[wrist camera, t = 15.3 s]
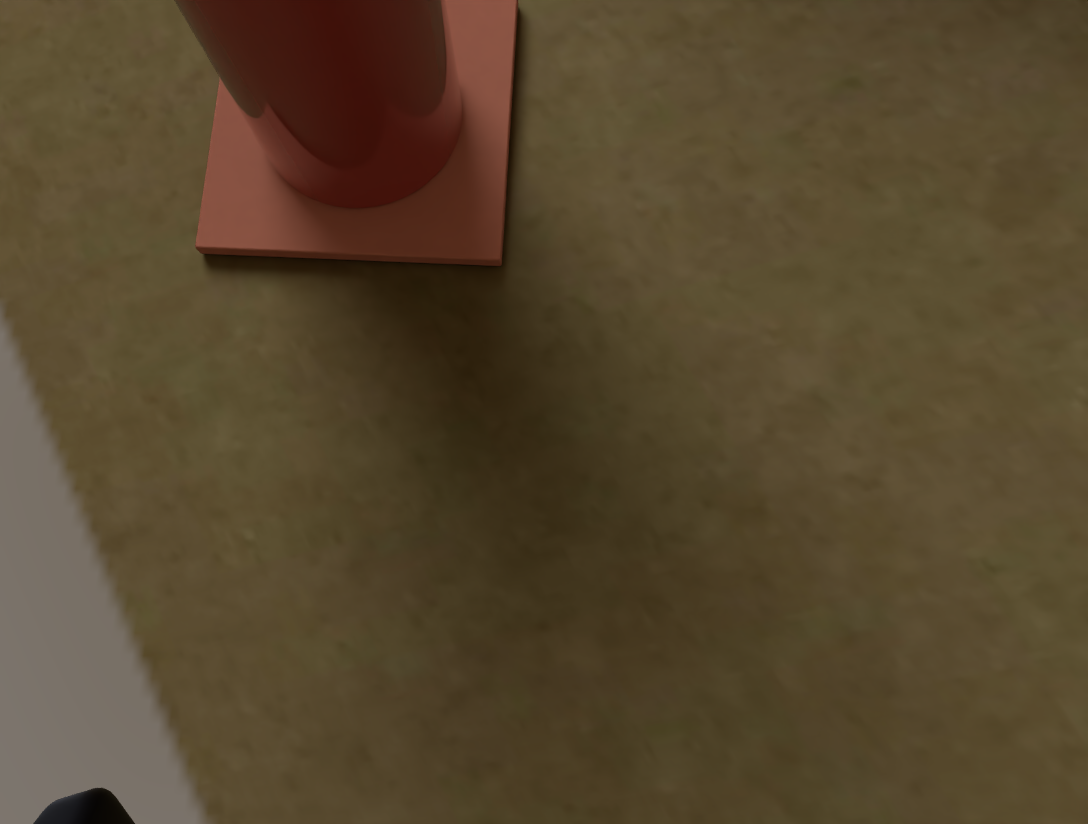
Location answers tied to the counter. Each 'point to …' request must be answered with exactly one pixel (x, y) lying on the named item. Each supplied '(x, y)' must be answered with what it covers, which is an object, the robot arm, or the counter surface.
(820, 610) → the counter surface
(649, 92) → the counter surface
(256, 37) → the red cylinder
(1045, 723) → the counter surface
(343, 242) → the terracotta pad
